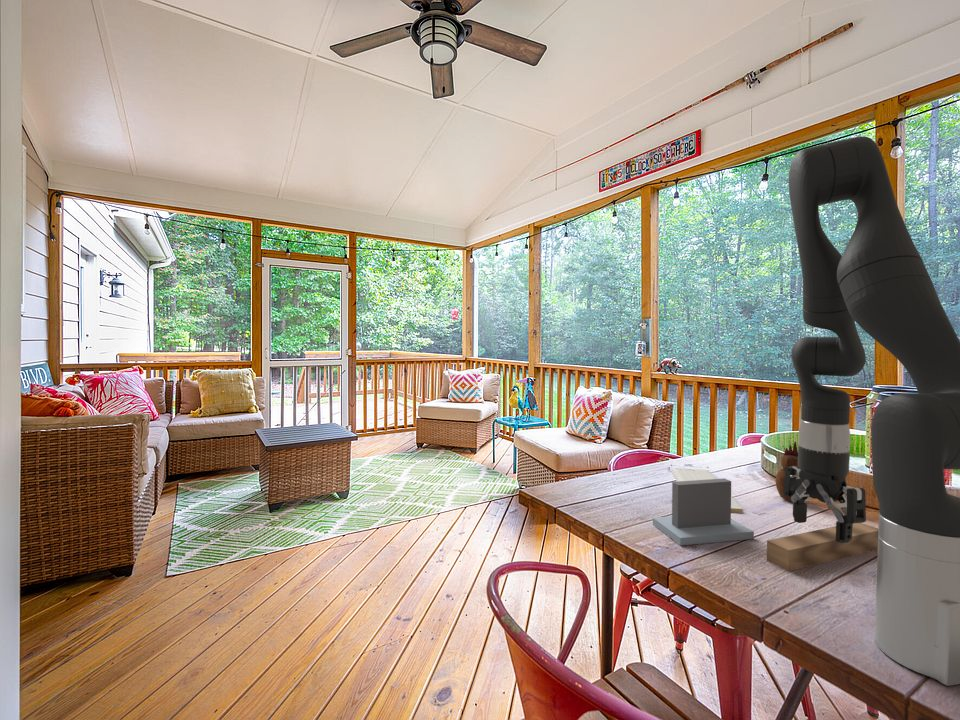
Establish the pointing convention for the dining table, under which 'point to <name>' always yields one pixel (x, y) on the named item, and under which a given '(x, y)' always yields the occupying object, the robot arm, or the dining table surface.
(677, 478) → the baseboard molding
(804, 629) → the dining table surface
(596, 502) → the dining table surface
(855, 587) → the dining table surface
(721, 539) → the fulcrum board
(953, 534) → the robot arm
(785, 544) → the walnut bar
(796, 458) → the wooden figurine
